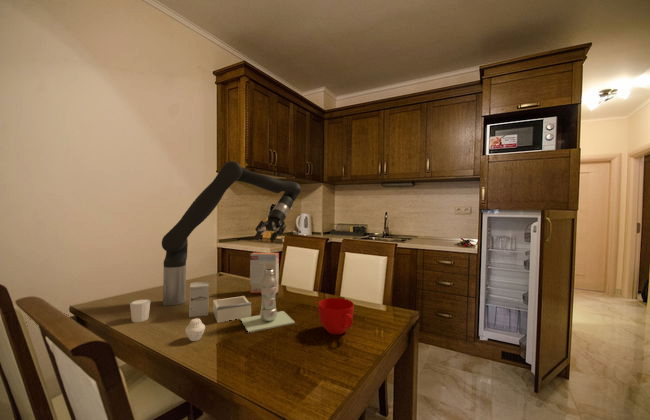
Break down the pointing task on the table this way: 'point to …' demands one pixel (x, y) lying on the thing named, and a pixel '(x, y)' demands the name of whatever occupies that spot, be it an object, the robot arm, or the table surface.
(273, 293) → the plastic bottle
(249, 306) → the sleeve
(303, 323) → the table surface
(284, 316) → the mat
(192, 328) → the muffin
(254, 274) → the cracker box
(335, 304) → the ceramic cup
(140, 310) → the shot glass
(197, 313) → the supplement box
